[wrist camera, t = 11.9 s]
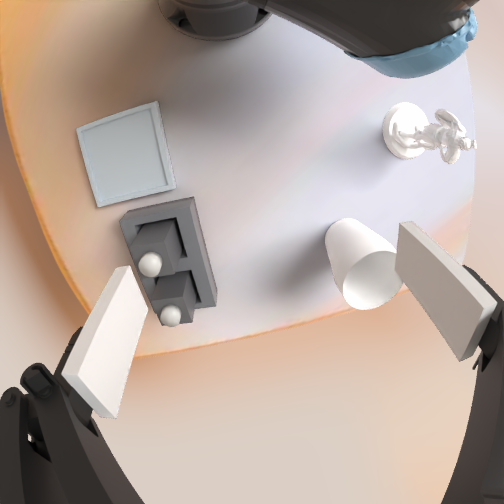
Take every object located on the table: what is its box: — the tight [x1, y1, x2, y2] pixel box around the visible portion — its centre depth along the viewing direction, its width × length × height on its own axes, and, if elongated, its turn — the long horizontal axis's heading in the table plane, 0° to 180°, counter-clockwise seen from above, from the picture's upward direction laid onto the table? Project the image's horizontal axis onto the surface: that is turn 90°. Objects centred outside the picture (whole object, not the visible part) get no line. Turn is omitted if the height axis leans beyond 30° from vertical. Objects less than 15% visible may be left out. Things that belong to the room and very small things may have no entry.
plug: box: [151, 270, 198, 327], centre depth 40 cm, size 4×4×10 cm
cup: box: [325, 218, 403, 310], centre depth 38 cm, size 9×9×12 cm
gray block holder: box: [119, 197, 217, 314], centre depth 38 cm, size 16×10×10 cm, turn 9°
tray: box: [76, 101, 176, 207], centre depth 34 cm, size 12×12×2 cm
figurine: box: [383, 103, 476, 164], centre depth 28 cm, size 9×9×15 cm
